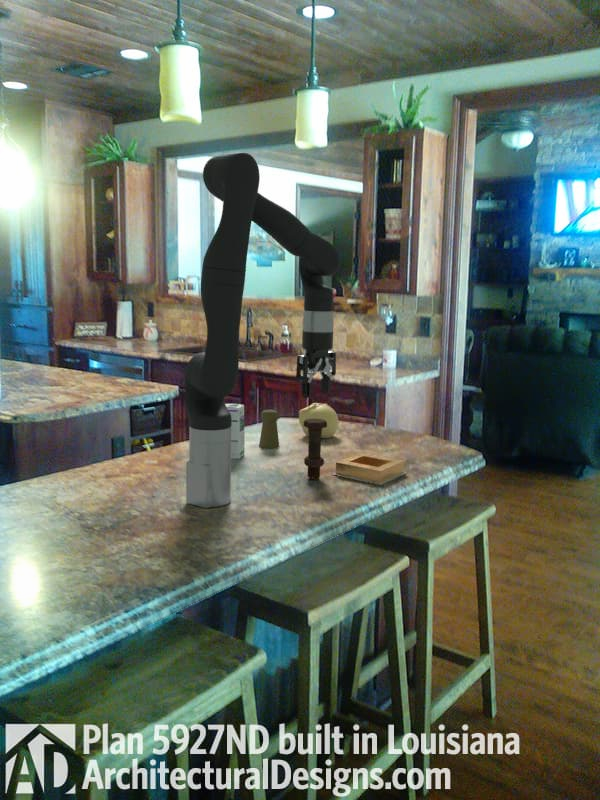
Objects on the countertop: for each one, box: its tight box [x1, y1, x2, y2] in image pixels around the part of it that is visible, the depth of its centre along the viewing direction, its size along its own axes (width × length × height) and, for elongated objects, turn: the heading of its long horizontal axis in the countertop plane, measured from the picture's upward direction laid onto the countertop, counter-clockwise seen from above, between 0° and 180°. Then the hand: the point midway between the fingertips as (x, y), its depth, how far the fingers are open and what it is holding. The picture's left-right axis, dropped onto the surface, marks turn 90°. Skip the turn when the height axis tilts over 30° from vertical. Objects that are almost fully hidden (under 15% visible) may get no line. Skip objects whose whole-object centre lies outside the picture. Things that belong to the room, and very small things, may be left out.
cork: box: [258, 409, 280, 450], centre depth 213 cm, size 6×6×11 cm
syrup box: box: [225, 403, 245, 460], centre depth 200 cm, size 6×6×14 cm
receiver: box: [332, 452, 407, 486], centre depth 187 cm, size 14×14×3 cm
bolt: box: [303, 419, 327, 481], centre depth 180 cm, size 6×5×15 cm
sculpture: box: [298, 402, 340, 439], centre depth 228 cm, size 11×12×11 cm
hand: (315, 395), depth 178 cm, fingers open, 8 cm apart
